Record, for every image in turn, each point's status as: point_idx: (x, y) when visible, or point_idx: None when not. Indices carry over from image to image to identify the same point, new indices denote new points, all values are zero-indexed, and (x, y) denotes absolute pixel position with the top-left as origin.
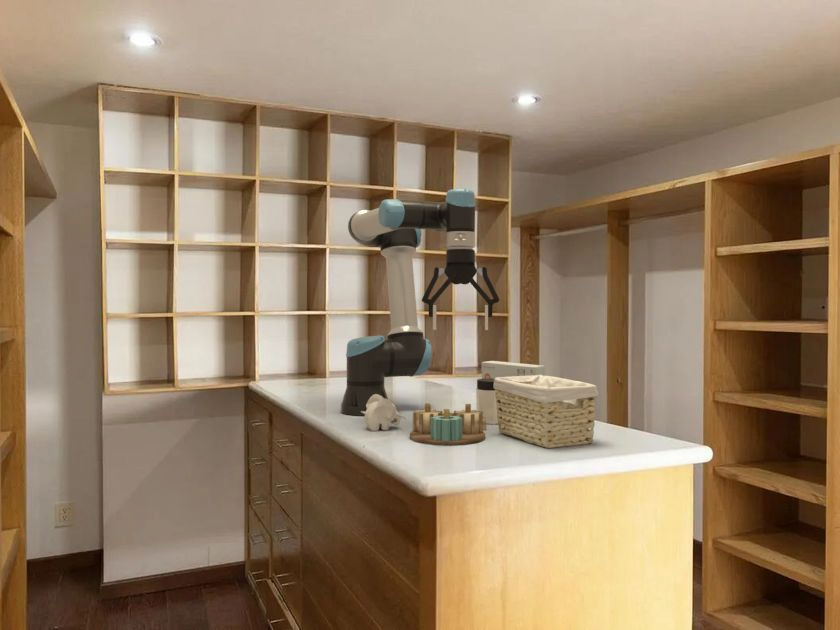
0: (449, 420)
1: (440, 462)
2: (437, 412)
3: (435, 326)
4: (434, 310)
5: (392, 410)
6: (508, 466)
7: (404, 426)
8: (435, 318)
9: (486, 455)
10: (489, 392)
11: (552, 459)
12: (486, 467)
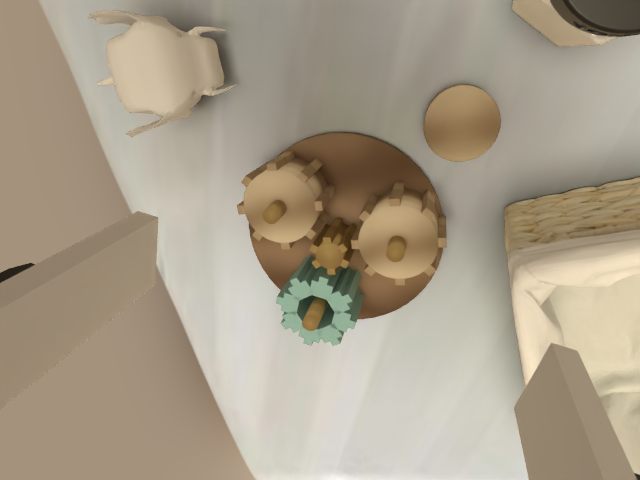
0: (317, 342)
1: (290, 420)
2: (304, 228)
3: (137, 295)
4: (27, 374)
5: (183, 113)
6: (395, 474)
7: (247, 37)
8: (94, 332)
9: (382, 404)
10: (578, 30)
11: (497, 465)
12: (357, 467)
